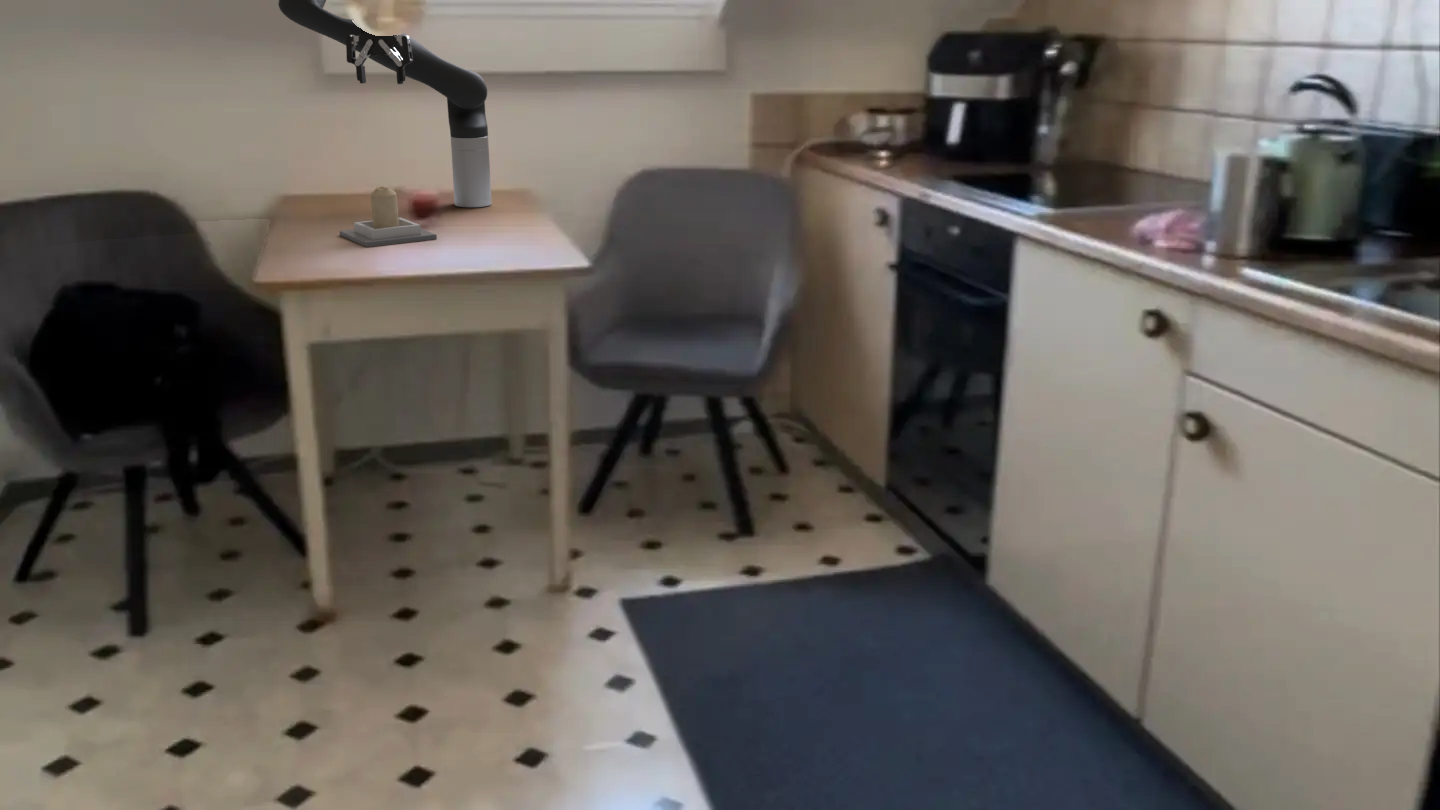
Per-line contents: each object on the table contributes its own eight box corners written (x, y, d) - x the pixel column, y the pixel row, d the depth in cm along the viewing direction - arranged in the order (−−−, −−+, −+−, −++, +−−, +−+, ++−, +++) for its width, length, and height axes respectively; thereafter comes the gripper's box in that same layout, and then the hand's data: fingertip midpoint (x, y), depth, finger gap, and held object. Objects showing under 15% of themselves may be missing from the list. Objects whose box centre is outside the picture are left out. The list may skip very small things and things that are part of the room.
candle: (404, 232, 275) (400, 187, 272) (381, 235, 271) (378, 190, 268) (391, 229, 279) (387, 184, 275) (369, 232, 275) (365, 187, 272)
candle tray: (339, 235, 277) (338, 221, 276) (407, 227, 286) (406, 214, 285) (366, 247, 265) (365, 233, 264) (436, 239, 274) (435, 225, 273)
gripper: (338, 7, 269) (344, 84, 274) (402, 8, 268) (407, 85, 273) (350, 7, 276) (356, 82, 281) (412, 7, 275) (418, 82, 281)
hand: (381, 83), depth 277 cm, fingers open, 8 cm apart
